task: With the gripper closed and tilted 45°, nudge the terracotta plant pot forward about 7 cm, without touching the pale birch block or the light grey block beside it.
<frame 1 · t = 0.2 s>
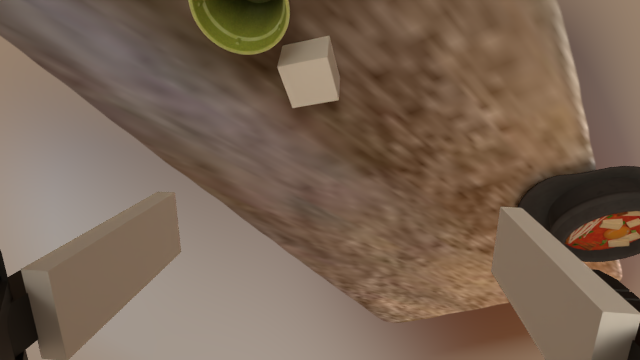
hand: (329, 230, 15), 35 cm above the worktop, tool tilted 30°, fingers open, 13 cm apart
grey block: (312, 61, 49), on the worktop
casserole: (591, 195, 64), on the worktop
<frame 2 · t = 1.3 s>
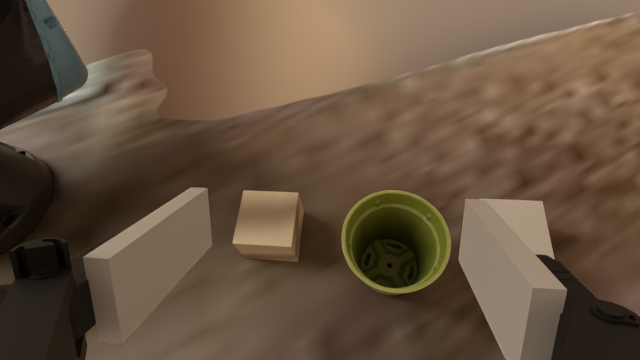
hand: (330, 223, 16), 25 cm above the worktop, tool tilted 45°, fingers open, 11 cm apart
birch block: (275, 234, 43), on the worktop
grey block: (498, 245, 41), on the worktop
plant pot: (387, 267, 41), on the worktop
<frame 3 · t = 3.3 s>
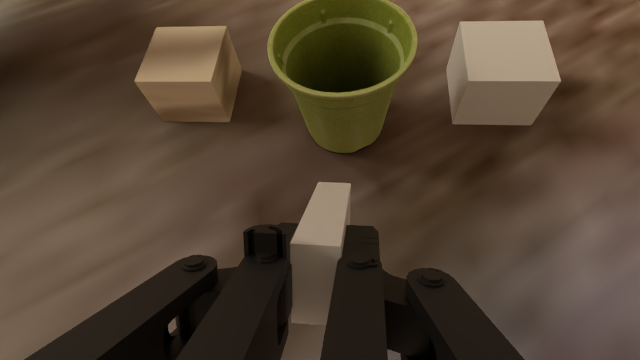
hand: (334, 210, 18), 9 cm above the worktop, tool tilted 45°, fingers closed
birch block: (204, 95, 34), on the worktop
grey block: (486, 96, 32), on the worktop
plant pot: (344, 124, 31), on the worktop
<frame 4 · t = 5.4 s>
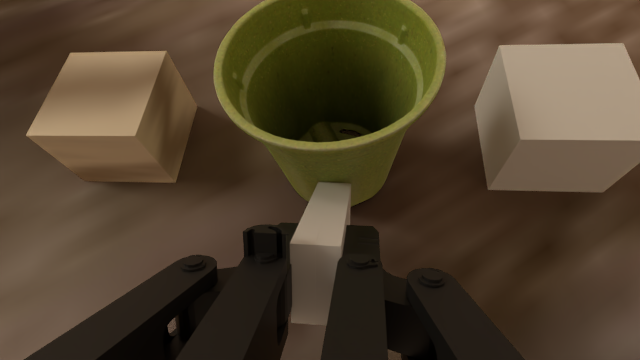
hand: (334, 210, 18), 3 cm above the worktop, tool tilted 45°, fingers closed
birch block: (144, 143, 25), on the worktop
grey block: (532, 147, 22), on the worktop
plant pot: (336, 166, 23), on the worktop, touching gripper
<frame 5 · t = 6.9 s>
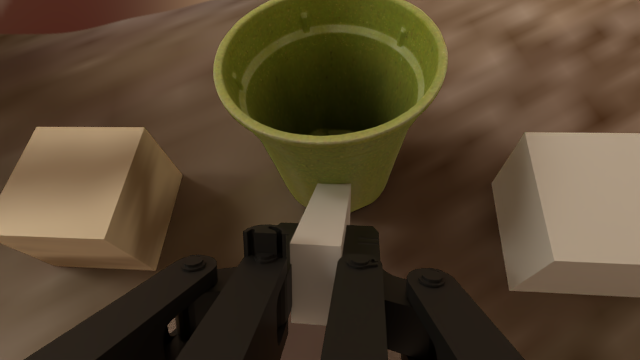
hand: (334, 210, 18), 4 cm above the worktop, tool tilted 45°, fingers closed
birch block: (122, 219, 22), on the worktop
grey block: (558, 236, 20), on the worktop
plant pot: (335, 172, 23), on the worktop, touching gripper
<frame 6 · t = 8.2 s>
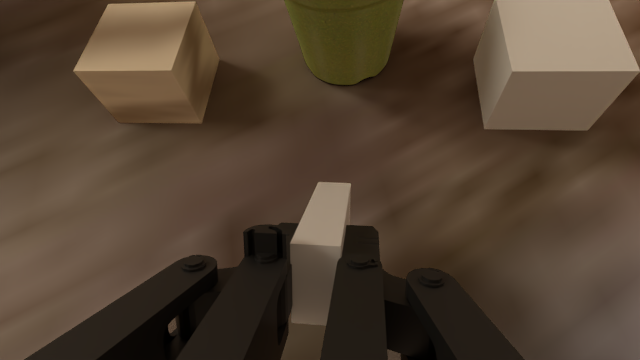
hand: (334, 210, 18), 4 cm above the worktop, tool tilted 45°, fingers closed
birch block: (172, 90, 28), on the worktop
grey block: (525, 93, 25), on the worktop
plant pot: (345, 57, 28), on the worktop
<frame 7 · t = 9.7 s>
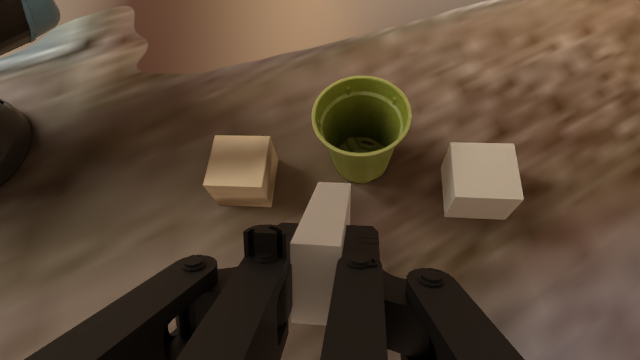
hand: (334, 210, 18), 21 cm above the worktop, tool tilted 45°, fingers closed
birch block: (249, 182, 43), on the worktop
grey block: (471, 192, 40), on the worktop
plant pot: (360, 161, 43), on the worktop
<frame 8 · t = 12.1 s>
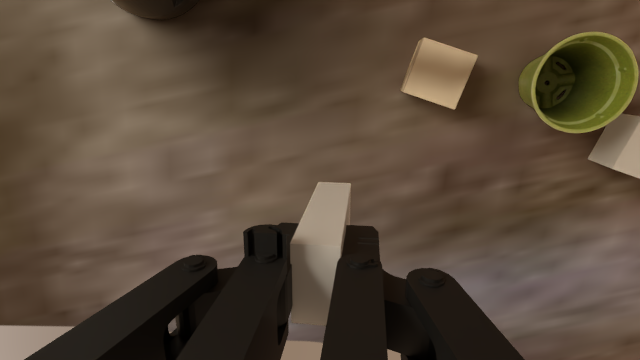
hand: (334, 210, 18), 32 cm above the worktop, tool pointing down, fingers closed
birch block: (432, 74, 46), on the worktop
grey block: (623, 144, 45), on the worktop
plant pot: (543, 82, 45), on the worktop
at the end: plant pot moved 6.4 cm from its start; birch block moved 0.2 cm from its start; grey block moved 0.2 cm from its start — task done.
